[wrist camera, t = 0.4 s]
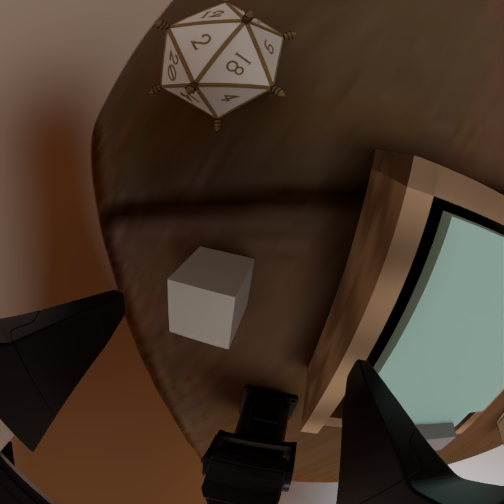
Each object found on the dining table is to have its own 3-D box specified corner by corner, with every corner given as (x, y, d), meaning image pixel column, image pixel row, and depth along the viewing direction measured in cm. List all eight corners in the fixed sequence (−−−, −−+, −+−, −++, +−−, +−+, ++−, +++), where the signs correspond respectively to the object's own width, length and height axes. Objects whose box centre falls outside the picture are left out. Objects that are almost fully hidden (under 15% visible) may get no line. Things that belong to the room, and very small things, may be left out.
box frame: (446, 382, 23) (461, 433, 16) (307, 367, 26) (300, 431, 19) (531, 217, 14) (581, 248, 7) (375, 149, 17) (414, 155, 10)
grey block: (247, 305, 24) (228, 349, 19) (197, 292, 25) (169, 331, 20) (254, 258, 22) (235, 297, 17) (200, 246, 23) (167, 278, 18)
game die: (256, 101, 21) (218, 180, 16) (173, 53, 17) (101, 116, 13) (326, 32, 14) (322, 81, 9) (227, -29, 10) (148, -18, 6)
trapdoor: (455, 427, 16) (460, 447, 14) (331, 426, 18) (330, 452, 16) (564, 266, 8) (582, 283, 6) (443, 210, 10) (468, 227, 8)
